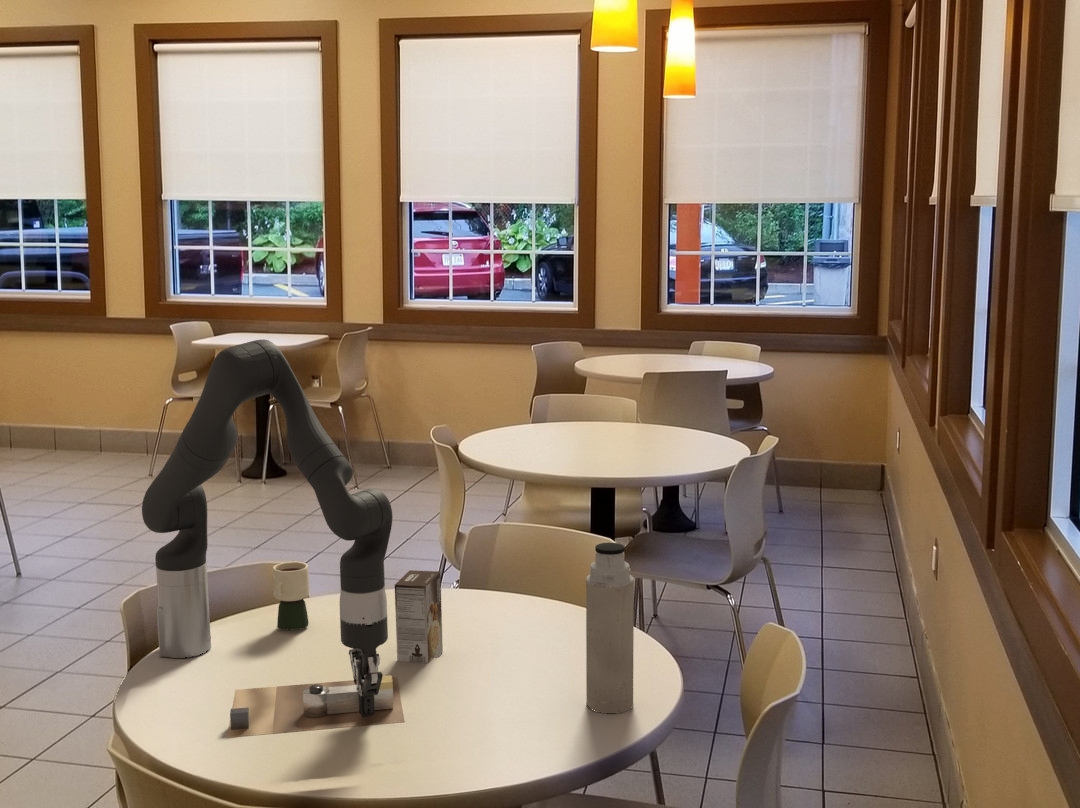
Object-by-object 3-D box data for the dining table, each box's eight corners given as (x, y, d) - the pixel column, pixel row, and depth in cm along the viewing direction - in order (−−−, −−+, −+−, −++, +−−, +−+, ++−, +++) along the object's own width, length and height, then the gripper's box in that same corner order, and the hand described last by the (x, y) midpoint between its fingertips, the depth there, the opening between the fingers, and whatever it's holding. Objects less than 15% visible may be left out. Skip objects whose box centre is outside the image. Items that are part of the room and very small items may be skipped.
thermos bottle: (593, 692, 201) (593, 537, 196) (638, 697, 198) (639, 540, 194) (580, 710, 193) (580, 549, 189) (626, 716, 191) (627, 554, 186)
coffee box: (411, 649, 222) (409, 568, 219) (443, 651, 220) (441, 570, 218) (396, 667, 213) (393, 583, 210) (429, 669, 212) (427, 585, 209)
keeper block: (230, 729, 185) (230, 713, 184) (231, 725, 186) (230, 708, 186) (248, 728, 185) (248, 711, 185) (249, 723, 187) (248, 707, 186)
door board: (227, 744, 182) (227, 737, 182) (236, 696, 200) (235, 689, 200) (404, 728, 187) (404, 721, 187) (397, 683, 206) (397, 676, 205)
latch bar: (303, 718, 188) (302, 691, 187) (303, 707, 192) (302, 680, 192) (393, 710, 191) (392, 683, 190) (392, 699, 195) (391, 673, 194)
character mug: (291, 617, 240) (288, 557, 238) (321, 621, 238) (319, 560, 236) (263, 635, 230) (260, 572, 228) (294, 639, 227) (291, 576, 225)
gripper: (331, 604, 190) (335, 703, 192) (350, 630, 178) (353, 735, 180) (375, 598, 192) (379, 695, 195) (397, 623, 180) (400, 727, 183)
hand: (366, 714), depth 188 cm, fingers closed
